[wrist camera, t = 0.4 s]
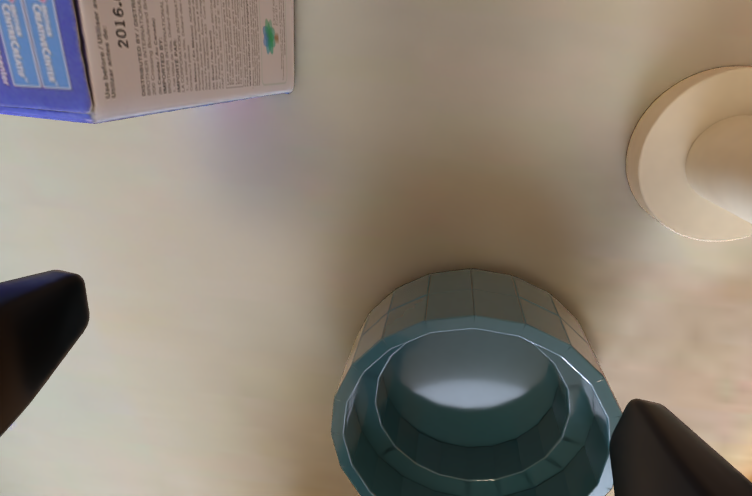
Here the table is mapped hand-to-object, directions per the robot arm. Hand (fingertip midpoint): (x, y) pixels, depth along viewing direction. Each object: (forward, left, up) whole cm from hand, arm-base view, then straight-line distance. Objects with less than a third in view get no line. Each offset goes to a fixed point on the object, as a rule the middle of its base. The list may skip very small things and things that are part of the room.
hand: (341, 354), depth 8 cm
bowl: (-10, -4, -14) cm, 18 cm away
